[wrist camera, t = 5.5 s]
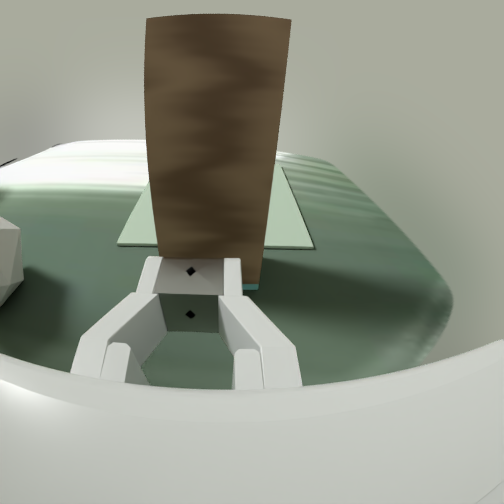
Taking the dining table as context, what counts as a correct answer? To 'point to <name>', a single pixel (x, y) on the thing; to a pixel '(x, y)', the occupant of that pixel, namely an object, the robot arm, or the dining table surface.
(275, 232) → the green mat
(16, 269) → the die
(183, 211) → the walnut block
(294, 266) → the dining table surface
